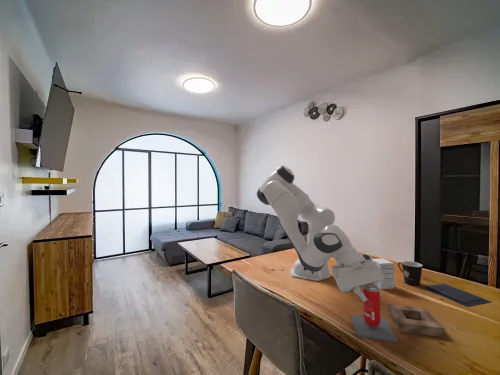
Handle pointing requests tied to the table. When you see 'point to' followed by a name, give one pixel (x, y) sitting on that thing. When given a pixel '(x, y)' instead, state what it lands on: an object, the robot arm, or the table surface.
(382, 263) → the supplement box
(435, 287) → the wallet
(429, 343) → the table surface
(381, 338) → the coaster tile
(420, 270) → the coffee mug
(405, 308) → the can holder
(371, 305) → the beverage can
